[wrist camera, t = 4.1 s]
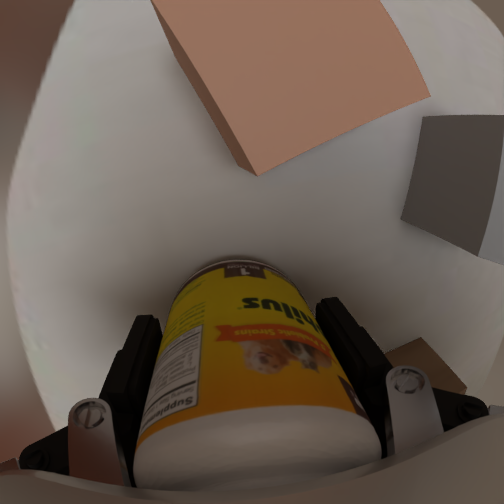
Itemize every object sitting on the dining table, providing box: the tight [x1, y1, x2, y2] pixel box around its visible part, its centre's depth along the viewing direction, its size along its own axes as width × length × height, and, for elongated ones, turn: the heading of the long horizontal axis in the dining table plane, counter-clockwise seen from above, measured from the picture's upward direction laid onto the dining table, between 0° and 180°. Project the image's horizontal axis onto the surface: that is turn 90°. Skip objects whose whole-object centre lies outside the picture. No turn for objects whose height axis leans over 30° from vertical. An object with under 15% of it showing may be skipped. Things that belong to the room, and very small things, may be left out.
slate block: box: [401, 115, 504, 265], centre depth 9 cm, size 5×5×5 cm
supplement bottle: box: [133, 260, 382, 492], centre depth 7 cm, size 6×6×10 cm
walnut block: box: [384, 337, 467, 395], centre depth 13 cm, size 5×5×5 cm
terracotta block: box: [151, 0, 431, 176], centre depth 7 cm, size 5×5×5 cm
